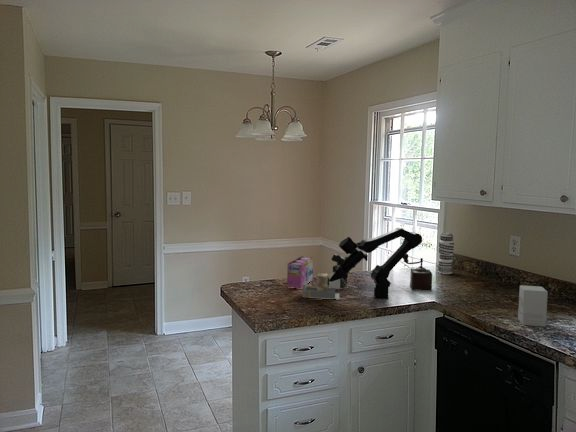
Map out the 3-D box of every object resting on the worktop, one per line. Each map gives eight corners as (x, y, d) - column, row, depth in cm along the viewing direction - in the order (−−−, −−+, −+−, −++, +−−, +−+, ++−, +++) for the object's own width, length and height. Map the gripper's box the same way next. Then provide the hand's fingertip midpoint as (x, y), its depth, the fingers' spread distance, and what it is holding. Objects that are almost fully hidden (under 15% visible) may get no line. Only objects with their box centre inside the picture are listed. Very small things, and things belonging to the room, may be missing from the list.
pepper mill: (428, 285, 258) (430, 253, 256) (432, 290, 247) (433, 257, 245) (400, 284, 260) (401, 252, 258) (402, 289, 249) (403, 256, 247)
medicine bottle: (340, 289, 247) (340, 267, 246) (328, 287, 251) (329, 265, 250) (347, 287, 253) (347, 265, 251) (335, 285, 257) (336, 263, 256)
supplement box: (540, 320, 200) (542, 286, 198) (546, 327, 191) (548, 291, 189) (517, 318, 202) (519, 284, 200) (522, 325, 193) (524, 289, 192)
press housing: (339, 294, 237) (339, 281, 236) (339, 300, 227) (339, 286, 226) (304, 293, 239) (304, 280, 238) (302, 298, 229) (302, 285, 229)
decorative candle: (449, 271, 297) (451, 232, 294) (455, 274, 288) (457, 234, 285) (435, 270, 297) (437, 232, 294) (440, 274, 287) (442, 234, 285)
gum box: (301, 278, 271) (301, 255, 270) (314, 280, 269) (314, 256, 267) (286, 288, 249) (287, 263, 248) (300, 289, 246) (301, 264, 245)
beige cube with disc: (329, 293, 235) (329, 273, 234) (328, 296, 230) (329, 276, 229) (317, 292, 236) (318, 273, 235) (316, 295, 230) (317, 275, 229)
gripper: (341, 245, 239) (319, 265, 241) (341, 251, 220) (317, 273, 223) (356, 261, 238) (334, 281, 241) (357, 268, 220) (333, 290, 222)
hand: (329, 281), depth 232 cm, fingers closed, pressing on beige cube with disc
